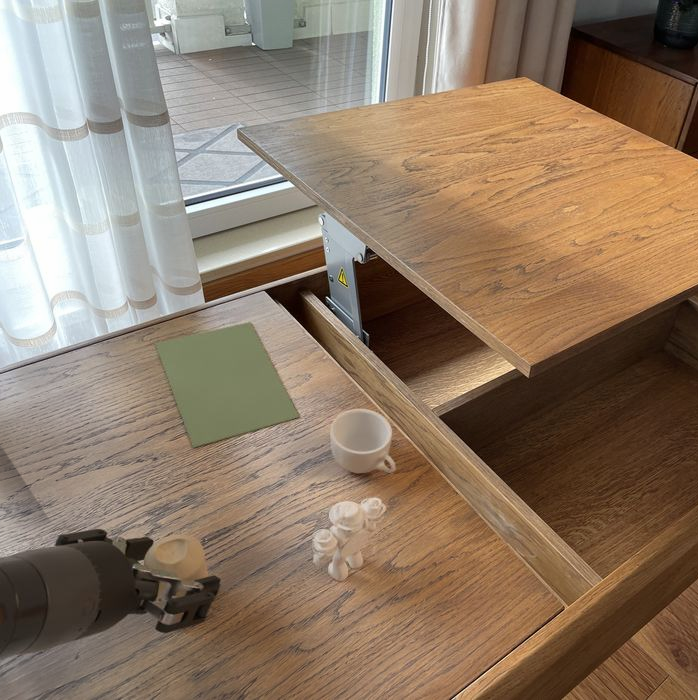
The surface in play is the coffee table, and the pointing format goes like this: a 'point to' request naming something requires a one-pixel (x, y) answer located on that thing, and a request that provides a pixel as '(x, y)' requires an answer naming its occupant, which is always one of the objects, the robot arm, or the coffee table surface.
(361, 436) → the teacup
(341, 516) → the hat wearing toy figure
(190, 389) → the desk mat
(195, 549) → the candle
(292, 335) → the coffee table surface
